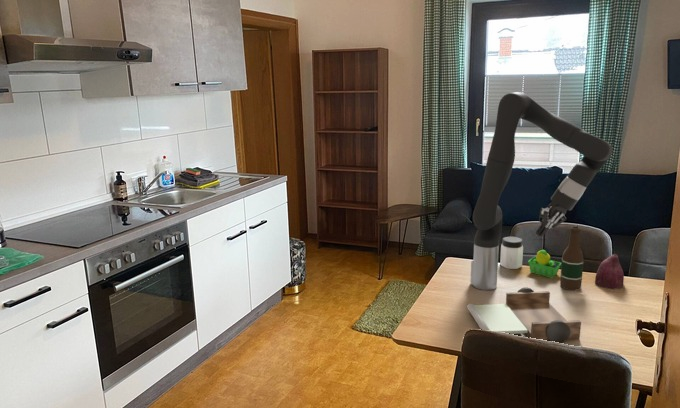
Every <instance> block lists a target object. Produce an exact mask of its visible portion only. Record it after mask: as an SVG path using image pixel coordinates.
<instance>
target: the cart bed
mask: <svg viewBox="0 0 680 408" xmlns="http://www.w3.org/2000/svg"><path fill="white" fill-rule="evenodd" d="M550 297H551V292H550V291H549V290H541V291H534V289H533V288H531V287H528V286H526V287H522V288H520V289H518V290H517V291H515V292H506V297H505V304H507V305H508V307H509V308H510V309H511V310H512V312H513V313H514V314H515V315H516V316H517V318H518V319H519V320H520V321H521V323H522V324H523V325H524V326H525V328H526V329H527V330H528V332H527V333H525V334H526V336H527V337H528V338H529V337H531V338H536V339H543V340H550V342H552V341H555V342H561V343H560V344H562V343H564V342H566V341H571V340H573V341H574V340H580V338H581V337H580V336H581V329H582V328H581V326H582V320H579V319H574V320H567V319H566V318H565V317H564V316H563V315H562V314H561V313H560V312H559V311H558V310H557V309H556V308H555V307H554V306H553V305H552V304H551V303H550Z"/></svg>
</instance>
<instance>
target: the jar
mask: <svg viewBox="0 0 680 408" xmlns="http://www.w3.org/2000/svg"><path fill="white" fill-rule="evenodd" d="M500 245H501V246H500V260H499V261H500V263H499V265H501V267H503V268H505V269H509V270H511V269H512V270H518V269H519V268H522V267H523V257H524V256H523V255H524V254H523V253H524V246H523V239H522V238H520V237H517V236H504V237H502V243H501V244H500Z"/></svg>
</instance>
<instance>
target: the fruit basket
mask: <svg viewBox="0 0 680 408" xmlns="http://www.w3.org/2000/svg"><path fill="white" fill-rule="evenodd" d="M527 262H528V267H529V271H530V273H532V274H536V275H539V276H542V277H548V278H550V279H551V278H554V277H555V276H556V275H558V272H559V270H560V268H561V265H562V262H560V261H556V260H552V259H551V255H550V254H549V253H548V252H547V251H546V250H545V249H541V250H539V251H537V252H536V256H534V257H532V258H530V259H529V260H528V261H527Z"/></svg>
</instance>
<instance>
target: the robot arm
mask: <svg viewBox="0 0 680 408" xmlns="http://www.w3.org/2000/svg"><path fill="white" fill-rule="evenodd" d="M520 119H521V120H523V121H527V122H528V123H531V124H533V125H535V126H537V127H538V128H540V129H541V130H542V131H544V132H545V133H546V134H547V135H548V136H549V137H551V139H554V140H556V141H557V142H559V143H561V144H563V145H564V146H567V147H569V148H571V149H572V150H575V151H576V152H578V153H579V154H581V155H583V157H582V158H581V159H580V161H579V162H578V163H576V164H575V165H574V166H573V167H572V168H571V169H570V171H569V173H568V174H567V175H566V177H565V178H564V179H563V180H562V181H561V183H560V184H559V186H558V187H557V189H556V190H555V191H554V193H553V194H552V196H551V197H550V200H551V202H550V203H549V204H548V205H547V207H545V208H543V207H541V208H540V210H539V216H538V217H539V219H538V222H539V223H540V226H539V227H538V229H537V230H536V231H535V234H536V235H537V236H538V237H541V238H542V237H544V236H545V234H546V233H547V232H548V230H549V229H552V228H553V229H555V228H556V227H557V226H560V224H562V223H564V222H565V221H566V220H567V217H566V216H565V215H566V213H567V211H572V210H573V208H574V207H575V205H576V204H577V203H578V202H579V200H580V199H581V197H582V196H583V194H584V192H585V191H586V189H587V188H588V186H589V185H590V184H591V182H592V181H593V179H594V178H595V176H596V174H598V172H599V171H600V170H601V169H602V168H603V166H604V165H605V164H606V163H607V162H608V161H609V159H610V158H611V156H612V154H613V147H612V145H611V144H610V142H608V141H606V140H604V139H602V138H599V137H597V136H596V135H593V134H592V133H589V132H587V131H586V130H584V129H583V128H581V127H580V126H578V125H577V124H573V123H572V122H570V121H568V120H567V119H564V118H562V117H560V116H558V115H557V114H555V113H553V112H551V111H549V110H547V109H546V108H545V107H543V106H542V105H541V104H539V103H538V102H536V101H535V100H534V99H532V98H531V97H530V96H529V95H527V94H526V93H524V92H520V91H519V92H517V91H515V92H509V93H506V94H504V96H502V97H501V99H500V101H499V103H498V107H497V114H496V121H495V122H496V123H495V127H494V128H495V129H494V133H493V137H492V140H491V145H490V149H489V153H488V156H487V160H486V165H485V167H484V168H485V170H484V174H483V178H482V182H481V188H480V194H479V196H478V198H477V201H476V204H475V207H474V210H473V213H472V222H473V224H474V226H475V228H477V230H476V233H475V235H474V239H473V240H474V241H473V260H472V261H471V262H470V283H469V284H471V285H472V286H473V287H474V288H475V289H478V290H482V291H483V290H484V291H490V290H495V289H497V286H498V272H499V271H498V266H499V247H500V240H501V237H502V229H503V211H502V209H501V207H500V205H498V204H499V200H500V198H501V195H502V192H503V191H504V189H505V187H506V185H507V184H508V181H509V179H510V177H511V174H512V171H513V167H514V163H515V158H516V145H515V143H516V142H515V139H516V138H515V137H516V131H517V128H518V124H519V122H520Z"/></svg>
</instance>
